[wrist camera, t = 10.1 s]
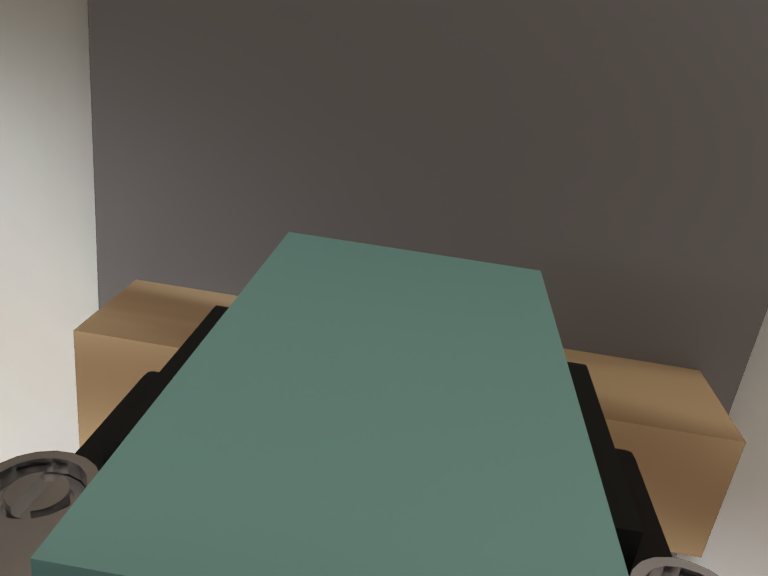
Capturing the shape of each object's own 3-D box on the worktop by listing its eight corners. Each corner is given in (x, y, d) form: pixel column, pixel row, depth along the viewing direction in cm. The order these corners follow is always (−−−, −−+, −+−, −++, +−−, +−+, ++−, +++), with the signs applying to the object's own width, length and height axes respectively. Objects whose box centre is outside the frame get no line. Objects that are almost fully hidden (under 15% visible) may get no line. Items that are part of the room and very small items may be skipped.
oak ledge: (665, 472, 18) (701, 557, 15) (137, 382, 19) (79, 447, 16) (700, 370, 17) (745, 442, 14) (136, 279, 17) (73, 330, 15)
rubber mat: (625, 669, 21) (628, 683, 21) (116, 574, 22) (109, 586, 22) (889, -62, 13) (905, -64, 13) (93, -161, 14) (81, -167, 14)
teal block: (493, 479, 14) (526, 1011, 7) (272, 441, 14) (63, 914, 7) (540, 270, 12) (656, 672, 5) (288, 231, 12) (30, 558, 5)
